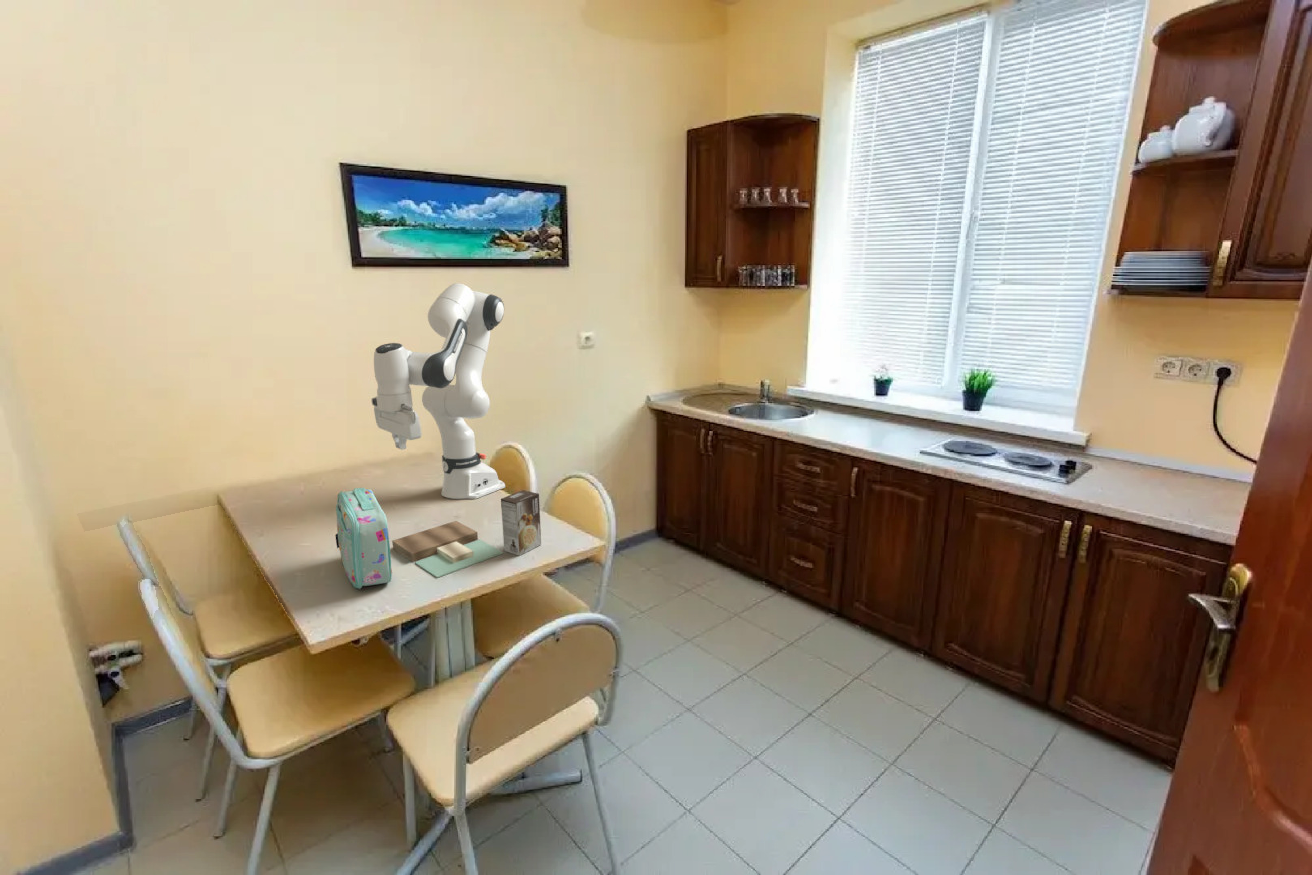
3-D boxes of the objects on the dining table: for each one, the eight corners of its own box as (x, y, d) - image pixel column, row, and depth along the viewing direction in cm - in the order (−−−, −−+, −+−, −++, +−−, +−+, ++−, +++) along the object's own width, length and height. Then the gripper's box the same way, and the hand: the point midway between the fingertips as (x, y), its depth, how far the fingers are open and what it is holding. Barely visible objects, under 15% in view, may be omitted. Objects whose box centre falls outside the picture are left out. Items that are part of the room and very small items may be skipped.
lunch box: (336, 557, 167) (326, 484, 161) (376, 548, 173) (368, 477, 167) (353, 598, 146) (343, 516, 140) (398, 587, 152) (390, 507, 146)
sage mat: (479, 540, 178) (479, 539, 178) (503, 553, 171) (503, 552, 171) (415, 563, 164) (414, 561, 164) (437, 578, 156) (437, 576, 156)
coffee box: (525, 539, 180) (523, 488, 176) (541, 544, 176) (540, 493, 172) (503, 550, 172) (500, 498, 168) (519, 556, 169) (517, 503, 165)
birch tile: (456, 546, 174) (456, 541, 173) (473, 555, 168) (473, 551, 168) (437, 552, 169) (436, 547, 169) (453, 563, 164) (453, 558, 163)
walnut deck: (456, 528, 187) (456, 520, 186) (477, 539, 179) (477, 531, 178) (393, 548, 172) (392, 540, 172) (413, 562, 165) (412, 553, 164)
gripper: (424, 405, 166) (429, 453, 170) (389, 394, 179) (395, 439, 183) (402, 409, 162) (408, 458, 166) (368, 398, 175) (374, 443, 179)
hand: (401, 448), depth 175 cm, fingers closed
